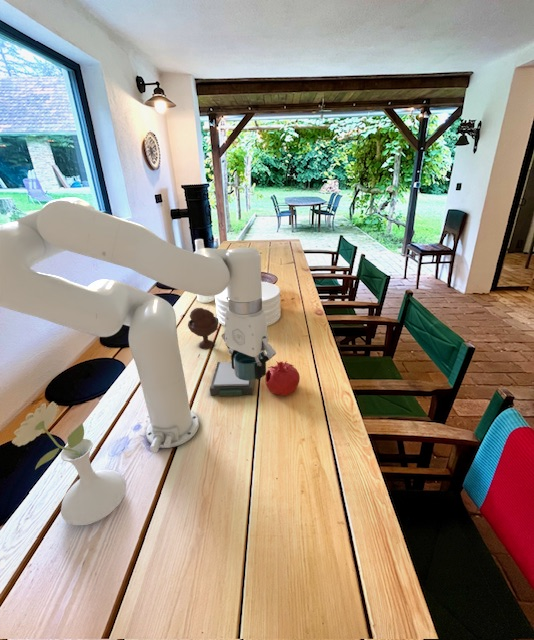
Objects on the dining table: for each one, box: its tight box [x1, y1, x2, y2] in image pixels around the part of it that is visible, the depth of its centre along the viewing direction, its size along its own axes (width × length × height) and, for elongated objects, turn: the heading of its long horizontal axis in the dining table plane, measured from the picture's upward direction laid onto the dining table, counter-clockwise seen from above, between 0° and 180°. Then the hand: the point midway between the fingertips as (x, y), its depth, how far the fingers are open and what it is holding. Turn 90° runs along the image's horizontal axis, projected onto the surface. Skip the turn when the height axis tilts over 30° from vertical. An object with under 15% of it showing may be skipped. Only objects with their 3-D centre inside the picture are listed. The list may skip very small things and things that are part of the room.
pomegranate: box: [264, 360, 301, 397], centre depth 91 cm, size 10×10×9 cm
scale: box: [209, 361, 255, 397], centre depth 97 cm, size 15×12×3 cm
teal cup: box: [234, 352, 262, 381], centre depth 78 cm, size 7×7×5 cm
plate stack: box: [214, 281, 282, 327], centre depth 140 cm, size 28×28×12 cm
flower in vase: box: [11, 400, 127, 526], centre depth 57 cm, size 13×11×25 cm
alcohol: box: [194, 238, 215, 304], centre depth 156 cm, size 9×9×30 cm
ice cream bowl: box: [187, 307, 219, 350], centre depth 116 cm, size 11×11×15 cm
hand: (248, 371), depth 79 cm, fingers closed on teal cup, 7 cm apart
